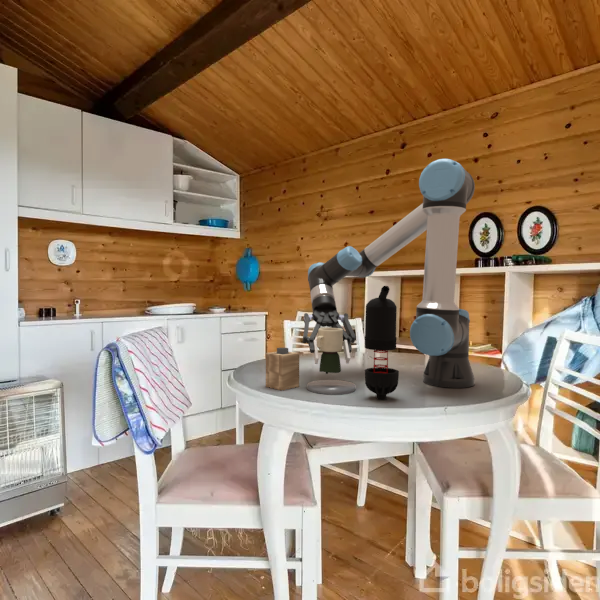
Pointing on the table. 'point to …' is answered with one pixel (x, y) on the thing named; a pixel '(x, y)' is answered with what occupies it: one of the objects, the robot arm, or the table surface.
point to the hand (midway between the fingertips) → (332, 360)
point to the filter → (381, 343)
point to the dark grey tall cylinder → (282, 350)
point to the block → (282, 370)
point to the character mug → (330, 349)
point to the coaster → (331, 387)
